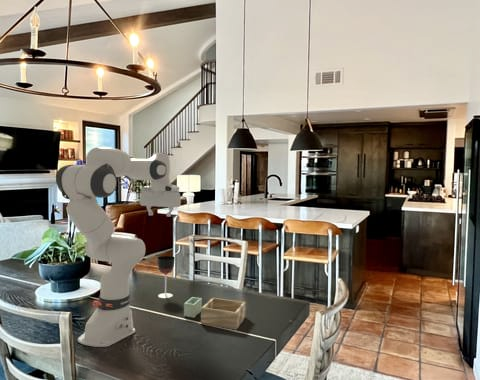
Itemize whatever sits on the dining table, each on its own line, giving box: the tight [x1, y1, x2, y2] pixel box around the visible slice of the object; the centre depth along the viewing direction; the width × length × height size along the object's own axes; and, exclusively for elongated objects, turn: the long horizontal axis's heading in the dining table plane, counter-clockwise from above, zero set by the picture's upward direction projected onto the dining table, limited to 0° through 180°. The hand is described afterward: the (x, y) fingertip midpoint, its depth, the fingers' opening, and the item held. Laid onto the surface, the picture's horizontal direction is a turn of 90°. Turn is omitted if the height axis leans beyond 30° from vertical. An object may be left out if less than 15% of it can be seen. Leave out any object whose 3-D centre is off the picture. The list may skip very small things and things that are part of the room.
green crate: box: [183, 296, 203, 318], centre depth 172 cm, size 9×5×6 cm, turn 164°
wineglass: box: [157, 255, 175, 299], centre depth 194 cm, size 8×9×20 cm
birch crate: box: [200, 297, 247, 330], centre depth 164 cm, size 14×16×7 cm
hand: (159, 215), depth 178 cm, fingers open, 8 cm apart
